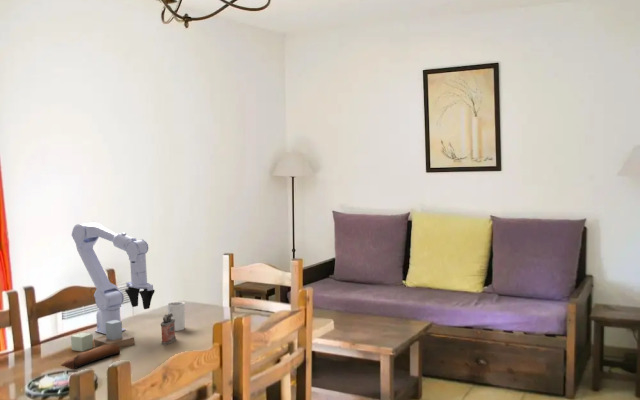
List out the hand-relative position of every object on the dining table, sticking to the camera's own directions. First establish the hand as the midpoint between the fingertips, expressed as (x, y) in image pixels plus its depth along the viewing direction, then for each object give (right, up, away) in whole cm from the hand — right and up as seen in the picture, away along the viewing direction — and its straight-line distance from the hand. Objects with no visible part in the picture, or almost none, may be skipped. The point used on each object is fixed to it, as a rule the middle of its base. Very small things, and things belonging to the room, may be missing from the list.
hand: (140, 307), depth 235 cm
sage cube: (-16, -12, -16) cm, 25 cm away
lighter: (+13, -11, -10) cm, 20 cm away
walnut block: (-6, -12, -13) cm, 18 cm away
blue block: (-6, -9, -13) cm, 16 cm away
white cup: (+12, -10, +8) cm, 17 cm away
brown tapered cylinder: (-8, -13, -29) cm, 33 cm away
